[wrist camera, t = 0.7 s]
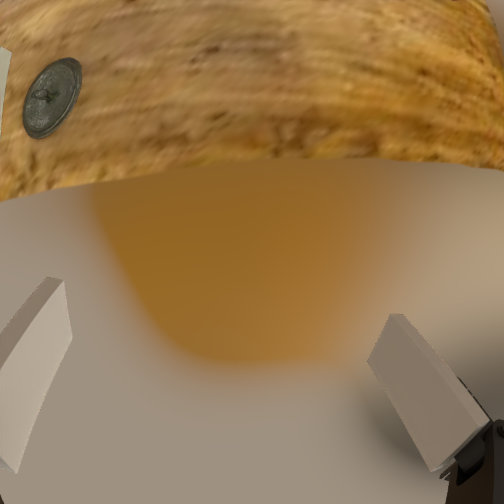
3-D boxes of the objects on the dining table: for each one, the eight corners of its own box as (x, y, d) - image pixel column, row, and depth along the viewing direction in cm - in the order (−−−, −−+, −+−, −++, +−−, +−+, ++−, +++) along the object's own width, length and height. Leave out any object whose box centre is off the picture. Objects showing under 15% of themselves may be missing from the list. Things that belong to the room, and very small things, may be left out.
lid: (71, 148, 29) (54, 146, 24) (15, 131, 26) (-5, 128, 21) (105, 69, 27) (93, 56, 22) (45, 57, 24) (29, 45, 20)
